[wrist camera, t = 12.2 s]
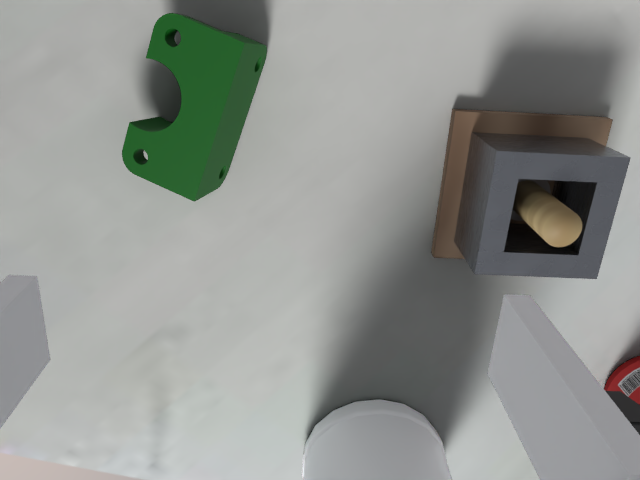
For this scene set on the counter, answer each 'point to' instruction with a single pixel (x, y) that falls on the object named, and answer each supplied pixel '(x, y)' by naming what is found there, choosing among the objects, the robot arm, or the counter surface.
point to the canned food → (626, 379)
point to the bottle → (374, 445)
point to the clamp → (196, 107)
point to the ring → (569, 188)
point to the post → (531, 194)
